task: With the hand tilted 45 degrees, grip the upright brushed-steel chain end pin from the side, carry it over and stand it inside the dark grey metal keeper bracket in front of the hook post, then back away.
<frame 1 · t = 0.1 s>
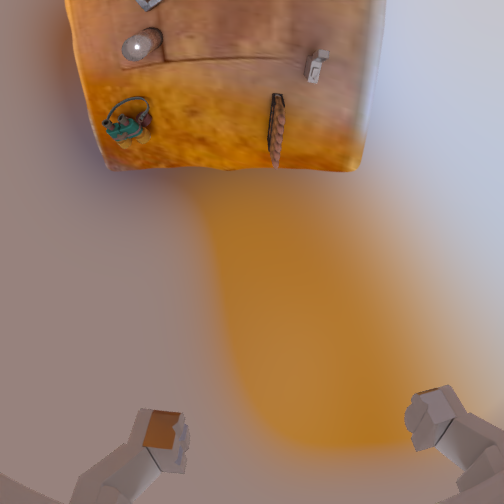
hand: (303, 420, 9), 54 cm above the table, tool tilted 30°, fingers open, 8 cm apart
binoculars: (135, 115, 54), on the table
ammunition clip: (274, 117, 56), on the table
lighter: (311, 58, 46), on the table
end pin: (151, 38, 41), on the table
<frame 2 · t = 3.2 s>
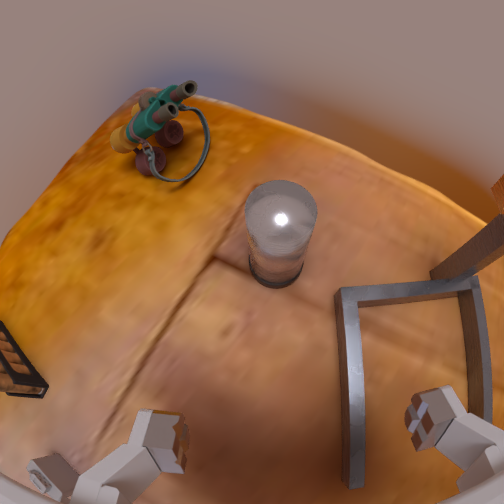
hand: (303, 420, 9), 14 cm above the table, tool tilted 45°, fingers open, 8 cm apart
binoculars: (169, 158, 32), on the table
ammunition clip: (20, 357, 23), on the table
keeper: (417, 385, 22), on the table
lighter: (80, 482, 18), on the table
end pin: (275, 263, 27), on the table
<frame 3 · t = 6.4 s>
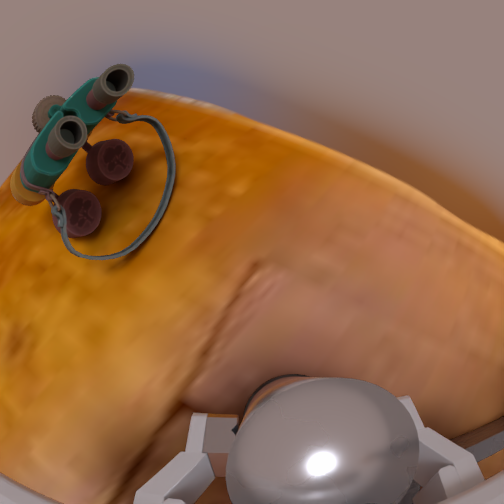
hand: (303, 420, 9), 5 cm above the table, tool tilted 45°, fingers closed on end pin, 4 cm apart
binoculars: (112, 203, 19), on the table
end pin: (290, 418, 13), on the table, touching gripper
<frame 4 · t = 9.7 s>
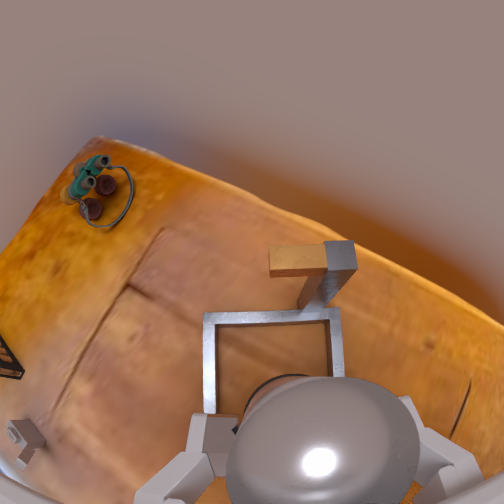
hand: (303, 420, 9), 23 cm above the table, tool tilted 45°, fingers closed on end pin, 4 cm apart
binoculars: (106, 204, 40), on the table
ammunition clip: (6, 351, 32), on the table
keeper: (274, 393, 30), on the table
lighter: (42, 440, 27), on the table
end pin: (290, 417, 13), point 18 cm above the table, touching gripper
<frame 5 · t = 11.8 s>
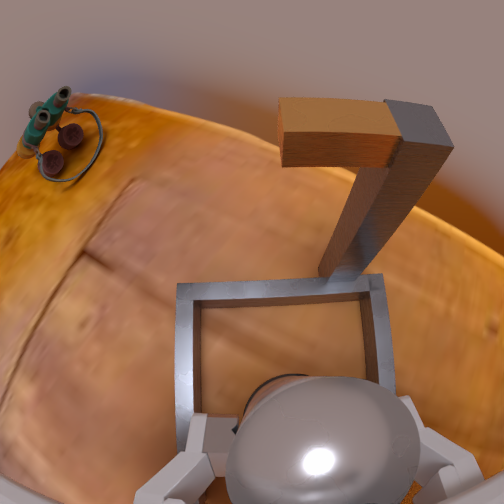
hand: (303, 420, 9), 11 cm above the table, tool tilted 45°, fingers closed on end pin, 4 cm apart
binoculars: (71, 159, 30), on the table
keeper: (286, 408, 19), on the table
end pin: (290, 417, 13), point 7 cm above the table, touching gripper
when the fingers open (7 cm above the table, at t = 13.2 s): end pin drops 2 cm, resting in keeper.
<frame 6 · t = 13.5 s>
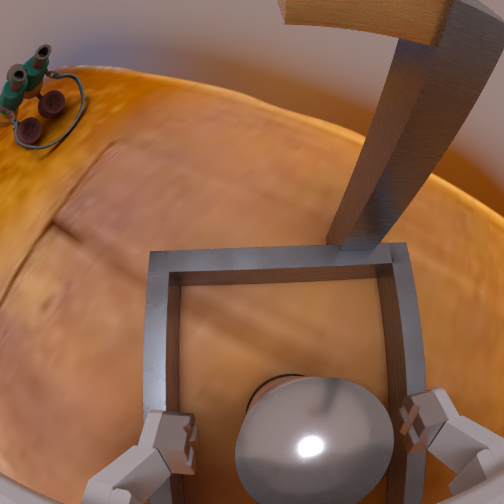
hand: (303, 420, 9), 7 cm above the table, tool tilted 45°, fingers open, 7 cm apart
binoculars: (50, 128, 25), on the table
keeper: (287, 413, 15), on the table
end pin: (288, 413, 15), resting in keeper
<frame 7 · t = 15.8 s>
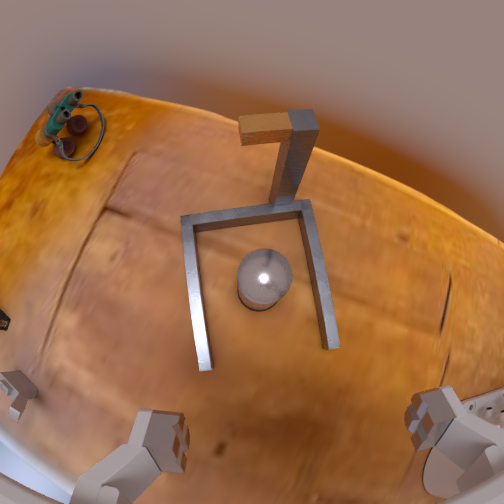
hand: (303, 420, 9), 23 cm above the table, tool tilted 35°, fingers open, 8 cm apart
binoculars: (79, 142, 38), on the table
keeper: (258, 290, 33), on the table
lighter: (34, 391, 28), on the table
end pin: (258, 290, 33), resting in keeper
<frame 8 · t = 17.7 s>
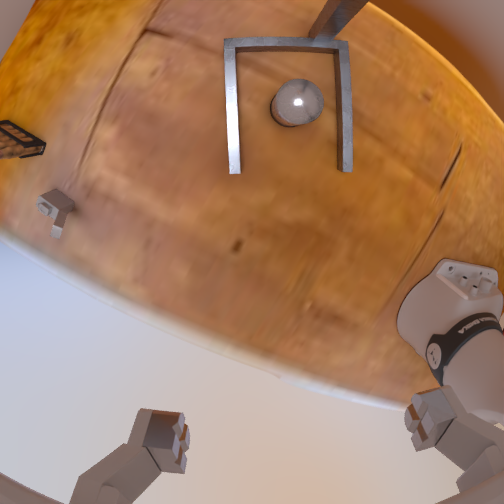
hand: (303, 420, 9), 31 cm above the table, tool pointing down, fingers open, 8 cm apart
ammunition clip: (24, 136, 34), on the table
keeper: (288, 108, 33), on the table
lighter: (70, 204, 38), on the table
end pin: (289, 108, 33), resting in keeper
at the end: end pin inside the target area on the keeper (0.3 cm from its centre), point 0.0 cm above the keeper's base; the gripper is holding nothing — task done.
